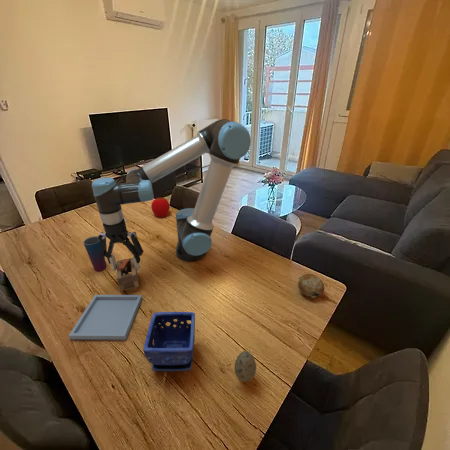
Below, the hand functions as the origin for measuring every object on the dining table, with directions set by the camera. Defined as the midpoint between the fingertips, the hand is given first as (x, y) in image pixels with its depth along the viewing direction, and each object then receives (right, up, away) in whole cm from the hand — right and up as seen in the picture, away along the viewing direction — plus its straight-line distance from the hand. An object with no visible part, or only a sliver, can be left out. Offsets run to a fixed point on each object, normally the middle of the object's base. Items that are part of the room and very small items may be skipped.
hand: (126, 268), depth 101 cm
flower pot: (+25, -22, -26) cm, 42 cm away
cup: (-17, -2, +11) cm, 20 cm away
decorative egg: (+46, -25, -31) cm, 61 cm away
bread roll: (+74, -8, +1) cm, 75 cm away
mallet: (-1, -6, +3) cm, 7 cm away
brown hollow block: (+1, -4, +1) cm, 5 cm away
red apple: (0, +23, +58) cm, 62 cm away
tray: (-1, -15, -14) cm, 20 cm away
